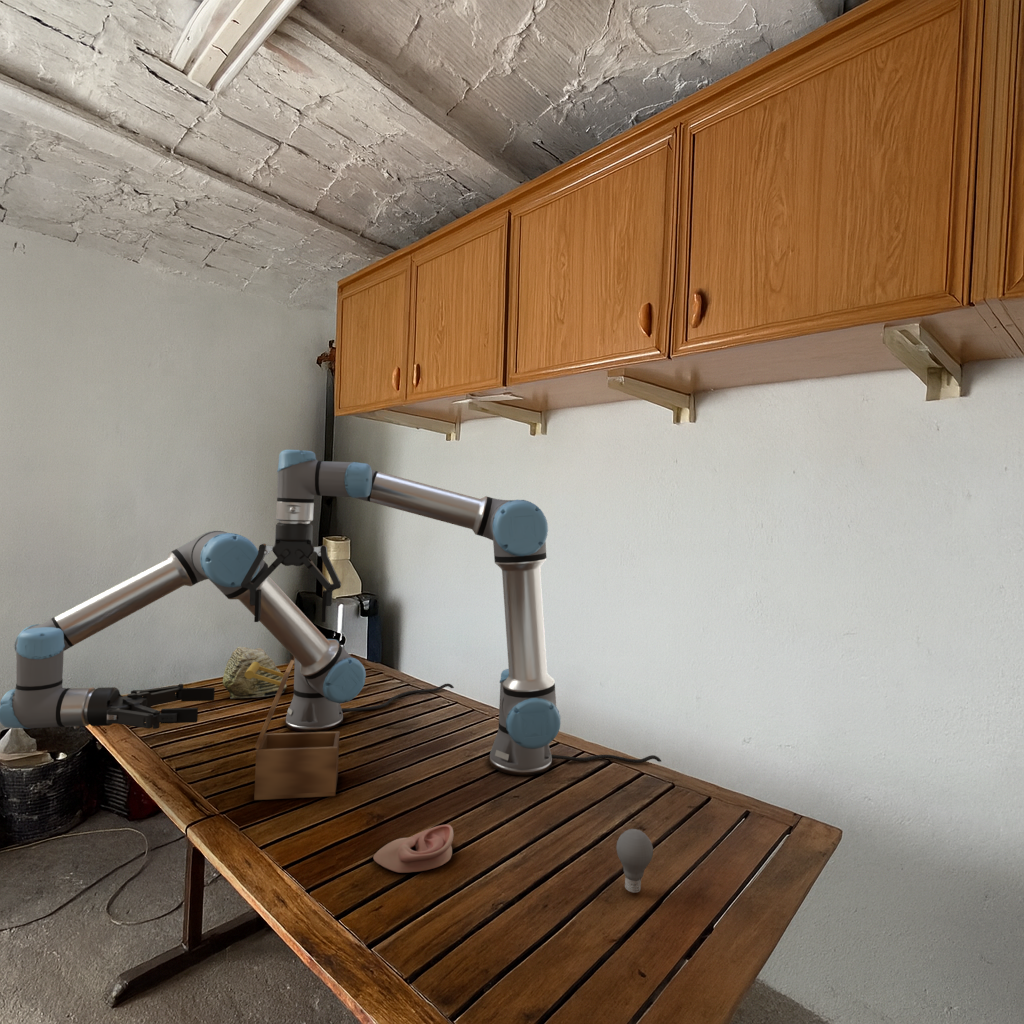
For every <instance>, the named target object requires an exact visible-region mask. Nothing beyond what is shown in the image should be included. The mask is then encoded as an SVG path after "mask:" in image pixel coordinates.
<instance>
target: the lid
mask: <svg viewBox="0 0 1024 1024" xmlns="http://www.w3.org/2000/svg"><path fill="white" fill-rule="evenodd" d="M294 665H295V659H294V660H293V659H290V661H289V663H288V666H287V668H286V669H285V672H284V673H283V672H281V671H280V672H278V671H275V670H272V669H269V668H265V667H262V666H260V664H259V663H258V662H253V663H252V664H251V665H250V667H249V668H248V670H247V671H246V672H245V677H246V678H247V679H251V678H256V679H260V680H263V681H266V682H269V683H272V684H275V685H279V688H278V691H277V693H276V695H274V699H273V701H272V702H271V703H272V704H271V706H270V708H269V711H268V713H267V716H266V718H265V721H264V723H263V726H262V728H261V730H260V732H259V735H258V738H257V740H256V743H255V746H254V749H256V750H257V749H258V748H259V746H260V744H261V742H262V740H263V737H264V735H265V734H267V730H268V728H269V726H270V723H271V721H272V718H273V716H274V714H275V711H276V708H277V706H278V703H279V701H280V698H281V697H282V694H283V693H282V691H283V689H284V686H285V684H286V685H287V681H288V679H289V676H290V673H291V671H292V669H293V666H294ZM257 670H262V671H265V672H268V673H271V674H274V675H277V676H280V677H283V679H282V681H281V682H280V681H277V680H274V679H271V678H268V677H264V676H261V675H258V674H255V673H256V672H257Z"/></svg>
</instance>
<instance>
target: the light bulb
mask: <svg viewBox="0 0 1024 1024" xmlns="http://www.w3.org/2000/svg"><path fill="white" fill-rule="evenodd" d="M615 849H616V854H617V857H618V859H619V861H620V863H621V865H622V867H623V873H624V874H623V875H624V876H625V878H624V888H625V890H627V891H628V892H630V893H634V894H635V893H639V892H640V891H641V889H642V887H641V886H642V879H643V877H644V875H645V871H646V868H647V867H648V866H649V864H650V863H651V861H652V859H653V855H654V847H653V843H652V841H651V838H649V836H648V835H647V834H646V833H645V832H643V831H642V830H641V829H636V828H629V829H627V830H625V831H623V832H622V833H621V834H620V835H619V837H618V839H617V841H616V847H615Z"/></svg>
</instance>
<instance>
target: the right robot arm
mask: <svg viewBox="0 0 1024 1024" xmlns="http://www.w3.org/2000/svg"><path fill="white" fill-rule="evenodd" d="M276 473H277V491H276V492H277V493H276V512H275V519H276V521H278V522H276V524H275V536H274V539H275V541H274V543H273V545H270V544H266V543H261V544H259V545H258V555H257V557H256V559H255V560H254V562H253V564H252V566H251V567H250V569H249V571H248V572H247V574H246V576H245V578H244V579H243V581H242V583H241V587H243V588H247V589H249V590H250V605H251V606H255V616H254V621H253V622H254V623H259V622H260V615H261V589H258V590H257V588H258V587H259V586H260V585H261V584H262V583H263V582H264V580H265V579H266V578H267V577H268V576H269V577H270V575H272V573H273V572H274V571H275V570H276V569H277V568H278V567H279V566H280V565H283V566H285V567H290V566H295V567H301V566H303V565H304V566H305V567H306V568H307V569H308V570H309V571H310V572H311V574H312V575H313V576H314V577H315V579H316V580H317V582H319V583H320V584H321V586H322V587H323V588H324V590H322V596H321V597H322V600H321V601H322V603H321V623H326V621H327V607H331V606H332V604H333V592H334V591H335V590H339V589H341V587H342V583H341V580H340V577H339V576H338V574H337V572H336V570H335V568H334V565H333V563H332V561H331V560H330V559H331V558H330V557H329V554H328V546H327V545H325V544H323V545H320V546H314V543H313V533H314V532H313V531H314V526H313V524H312V523H311V522H312V521H314V507H315V503H314V502H315V496H317V497H318V496H319V497H320V496H323V497H326V496H327V497H337V498H338V497H340V498H352V499H356V500H361V501H365V502H370V503H374V504H376V505H380V506H384V507H388V508H391V509H395V510H399V511H402V512H406V513H409V514H410V513H411V514H413V515H417V516H421V517H424V518H428V519H432V520H436V521H440V522H443V523H446V524H451V525H454V526H458V527H461V528H466V529H468V530H472V532H473V533H474V535H475V536H478V537H479V536H480V537H483V538H485V539H488V540H491V541H492V543H493V544H492V547H493V558H494V560H493V561H494V564H495V565H496V566H497V567H499V568H500V569H501V575H502V576H501V577H502V578H501V579H502V590H503V591H502V592H503V605H504V606H503V607H504V620H505V635H506V636H505V637H506V648H507V649H506V650H507V665H508V668H505V669H503V670H502V671H501V673H500V680H499V684H500V685H499V704H498V705H499V708H498V727H497V732H496V735H495V738H494V742H493V744H492V747H491V749H490V753H489V765H490V766H491V767H492V768H493V769H495V770H496V771H498V772H500V773H504V774H507V775H513V776H535V775H541V774H543V773H545V772H547V771H549V770H550V769H551V767H552V765H553V764H552V763H553V759H554V760H564V761H566V760H567V761H571V762H589V761H593V760H594V761H595V760H599V759H610V760H616V761H620V762H625V763H631V764H643V763H646V762H648V761H650V760H655V761H657V762H658V763H661V762H662V759H661V758H660V757H659V756H657V755H653V754H652V755H651V754H650V755H648V756H645V757H643V758H640V759H639V758H638V759H634V758H627V757H623V756H619V755H613V754H596V755H592V756H586V757H575V756H569V755H557V754H552V751H551V748H550V744H551V743H552V741H554V740H555V739H556V738H557V736H558V734H559V732H560V728H561V713H560V711H559V709H558V707H557V696H556V681H555V678H554V677H553V676H551V675H550V674H549V673H548V664H547V663H548V662H547V648H546V647H547V646H546V632H545V619H544V602H543V601H544V600H543V590H542V589H543V585H542V571H541V568H542V566H543V565H544V563H545V562H546V561H547V557H548V556H547V544H546V543H547V538H548V536H549V535H548V533H549V524H548V520H547V518H546V516H545V513H544V512H543V511H542V509H541V508H539V506H538V505H536V504H535V503H534V502H531V501H529V500H526V499H500V498H494V497H490V496H487V495H486V496H484V497H482V498H478V497H475V496H470V495H468V494H463V493H459V492H456V491H452V490H449V489H444V488H441V487H437V486H434V485H430V484H426V483H423V482H419V481H415V480H413V479H412V480H411V479H407V478H404V477H401V476H397V475H393V474H389V473H386V472H382V471H378V470H374V469H372V466H371V465H370V464H369V463H367V462H357V461H323V460H319V459H317V456H316V453H315V452H314V451H313V450H305V449H303V450H302V449H284V450H283V449H282V450H281V451H280V452H279V455H278V465H277V470H276ZM270 552H273V554H274V556H275V557H276V558H275V560H274V561H273V562H272V563H270V565H268V566H269V567H268V568H267V569H266V570H265V572H264V573H263V574H262V575H261V576H260V577H259V578H258V579H257V580H256V581H255V582H254V583H251V582H250V581H251V580H252V578H253V576H254V574H255V573H256V571H257V569H258V568H259V566H260V564H261V562H262V561H263V560H264V559H265V557H266V556H268V555H269V554H270ZM314 553H316V554H317V556H318V557H321V560H322V562H323V564H324V566H325V569H326V571H327V573H328V575H329V578H330V580H331V582H332V583H331V582H330V581H329V580H328V579H327V578H326V576H325V575H324V574H323V573H322V571H321V570H320V569H319V567H317V565H316V564H315V563H314V561H313V560H312V559H311V556H313V554H314Z"/></svg>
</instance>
